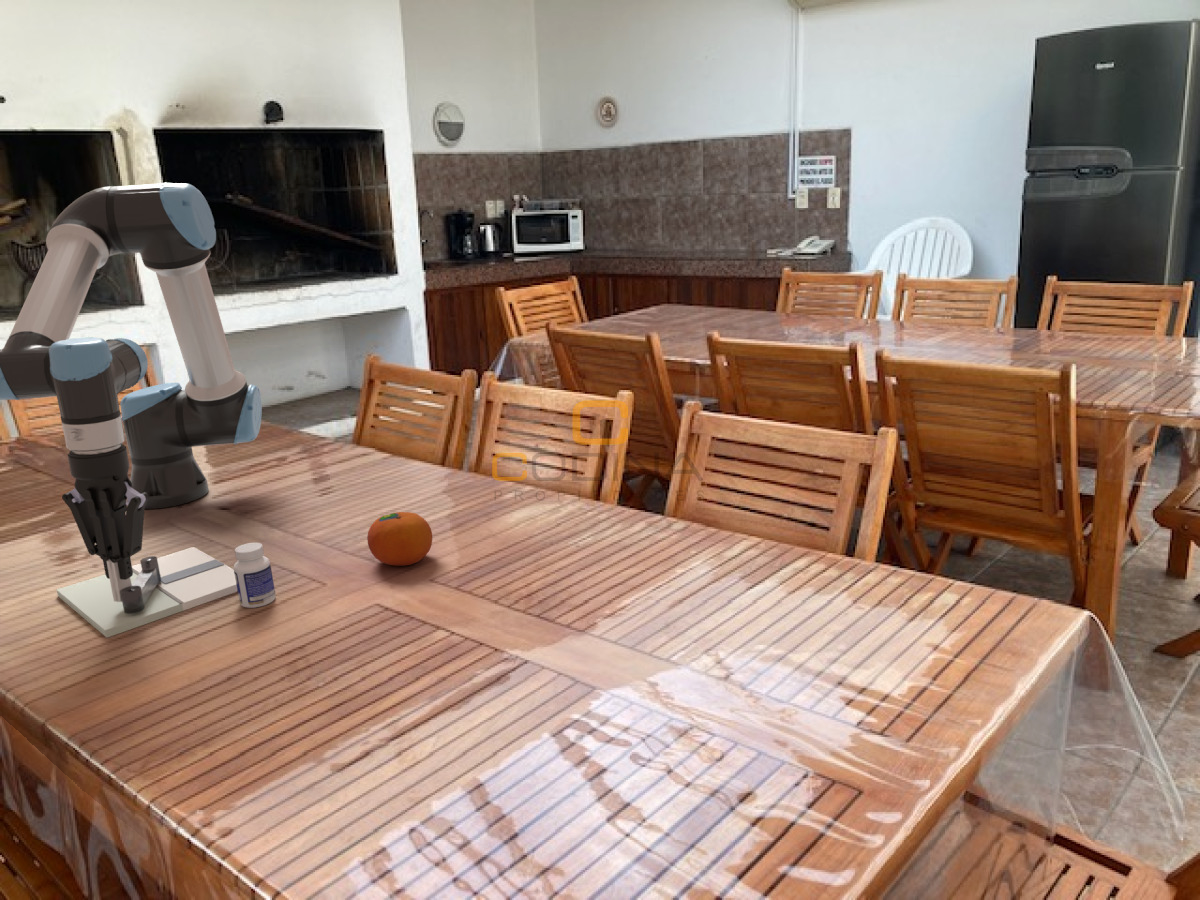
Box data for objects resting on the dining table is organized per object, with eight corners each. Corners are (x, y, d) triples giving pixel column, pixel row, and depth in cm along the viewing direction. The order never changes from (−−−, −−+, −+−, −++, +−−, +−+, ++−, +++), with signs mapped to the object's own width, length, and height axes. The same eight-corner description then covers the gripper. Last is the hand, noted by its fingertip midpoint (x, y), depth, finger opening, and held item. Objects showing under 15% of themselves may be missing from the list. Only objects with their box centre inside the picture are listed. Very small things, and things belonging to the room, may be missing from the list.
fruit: (447, 553, 158) (442, 508, 156) (410, 577, 149) (404, 531, 147) (395, 546, 163) (390, 502, 160) (357, 569, 154) (350, 523, 151)
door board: (194, 553, 164) (193, 545, 164) (252, 586, 149) (251, 578, 149) (58, 596, 149) (56, 588, 149) (106, 637, 134) (104, 629, 134)
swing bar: (146, 580, 150) (141, 557, 149) (164, 578, 150) (159, 555, 149) (122, 616, 137) (116, 591, 136) (142, 614, 138) (137, 589, 137)
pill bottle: (283, 595, 145) (274, 542, 143) (261, 610, 140) (251, 555, 138) (255, 592, 147) (246, 539, 144) (232, 606, 142) (222, 552, 140)
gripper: (38, 452, 132) (68, 605, 139) (117, 456, 129) (144, 612, 136) (77, 438, 139) (104, 584, 146) (152, 441, 136) (176, 590, 143)
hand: (123, 597), depth 141 cm, fingers closed
